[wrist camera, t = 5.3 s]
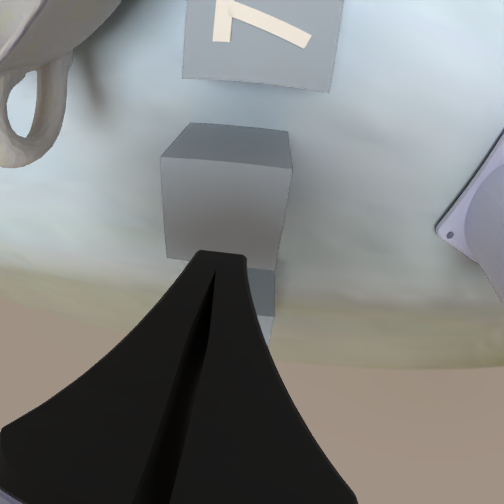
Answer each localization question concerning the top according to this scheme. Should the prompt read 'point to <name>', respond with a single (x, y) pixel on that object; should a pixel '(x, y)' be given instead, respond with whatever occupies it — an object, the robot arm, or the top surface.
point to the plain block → (226, 192)
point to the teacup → (41, 65)
